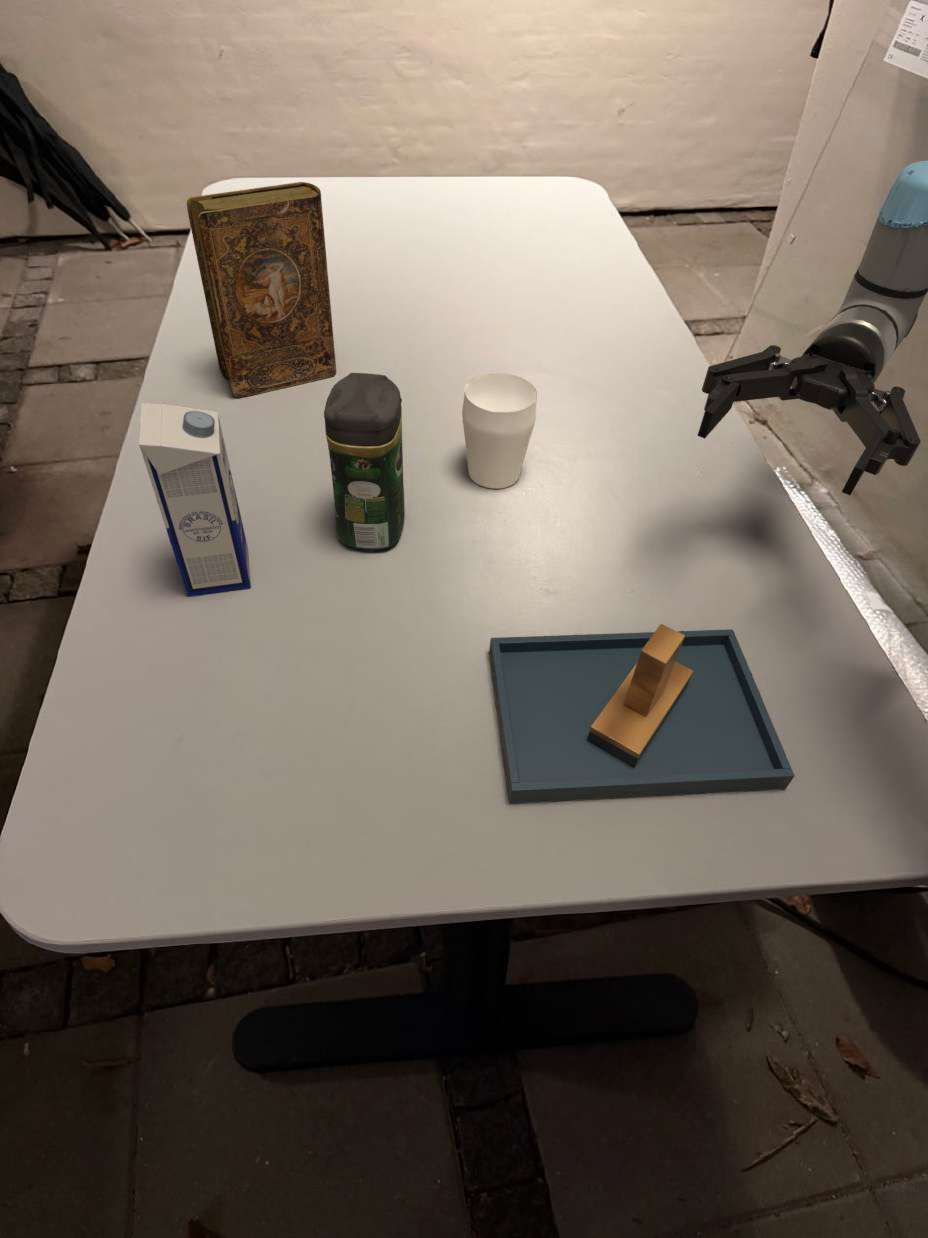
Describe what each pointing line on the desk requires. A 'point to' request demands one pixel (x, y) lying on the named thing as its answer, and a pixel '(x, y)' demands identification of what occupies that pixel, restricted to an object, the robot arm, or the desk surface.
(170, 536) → the milk carton
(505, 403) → the cup
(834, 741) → the desk surface
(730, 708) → the tray
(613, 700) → the wooden block on base
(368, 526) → the coffee jar
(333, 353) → the book
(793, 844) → the desk surface
